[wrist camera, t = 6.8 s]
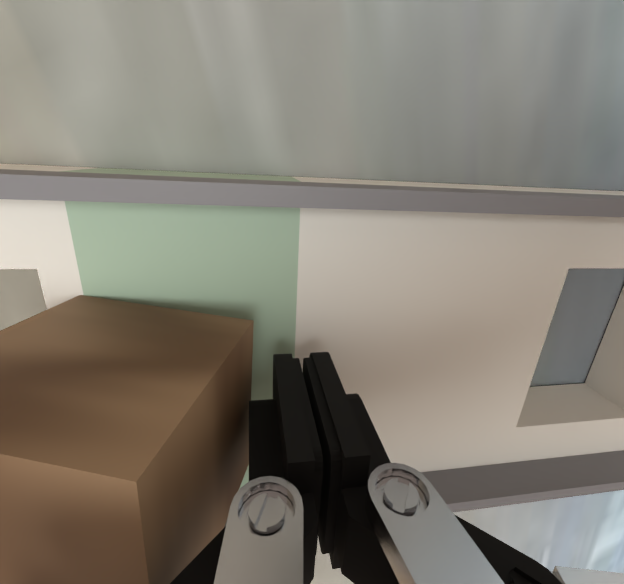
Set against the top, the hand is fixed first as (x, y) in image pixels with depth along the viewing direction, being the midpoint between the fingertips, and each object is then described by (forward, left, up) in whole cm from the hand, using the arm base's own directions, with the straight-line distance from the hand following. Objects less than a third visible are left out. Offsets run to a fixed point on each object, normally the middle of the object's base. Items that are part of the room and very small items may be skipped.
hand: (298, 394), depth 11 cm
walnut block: (+4, 0, -1) cm, 4 cm away
